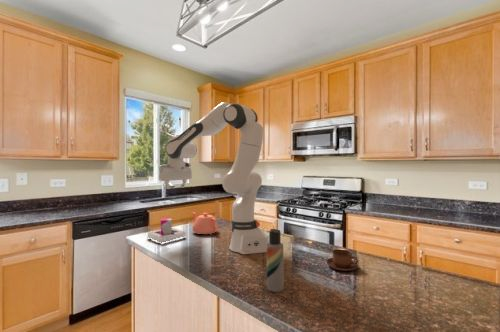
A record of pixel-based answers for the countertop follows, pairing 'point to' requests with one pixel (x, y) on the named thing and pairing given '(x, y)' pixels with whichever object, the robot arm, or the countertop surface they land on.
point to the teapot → (204, 224)
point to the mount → (163, 238)
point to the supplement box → (166, 226)
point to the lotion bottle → (275, 262)
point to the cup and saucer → (342, 260)
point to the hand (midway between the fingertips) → (176, 188)
